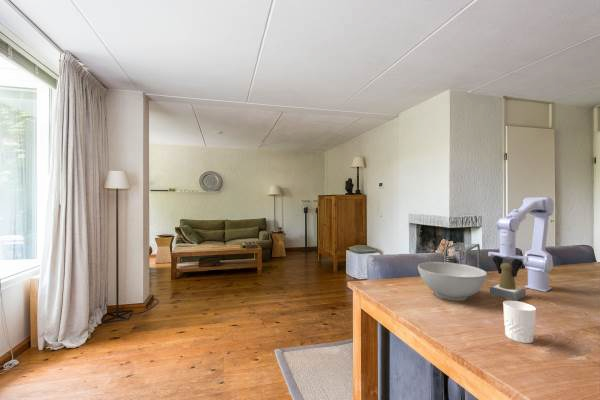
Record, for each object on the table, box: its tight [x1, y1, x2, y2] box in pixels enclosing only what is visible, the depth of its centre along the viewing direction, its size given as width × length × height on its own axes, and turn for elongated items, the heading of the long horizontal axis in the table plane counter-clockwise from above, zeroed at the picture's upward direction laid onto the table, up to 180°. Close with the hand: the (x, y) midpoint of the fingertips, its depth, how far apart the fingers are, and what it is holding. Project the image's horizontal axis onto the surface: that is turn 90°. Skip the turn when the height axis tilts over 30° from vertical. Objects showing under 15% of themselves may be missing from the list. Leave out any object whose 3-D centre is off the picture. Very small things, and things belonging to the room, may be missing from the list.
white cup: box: [502, 300, 537, 344], centre depth 83 cm, size 8×8×10 cm
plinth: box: [489, 283, 527, 301], centre depth 121 cm, size 10×10×3 cm
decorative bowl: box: [417, 261, 488, 302], centre depth 119 cm, size 27×27×12 cm
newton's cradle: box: [443, 241, 481, 269], centre depth 148 cm, size 30×10×18 cm, turn 136°
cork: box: [498, 262, 517, 290], centre depth 121 cm, size 6×6×11 cm
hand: (507, 274), depth 121 cm, fingers closed on cork, 5 cm apart
